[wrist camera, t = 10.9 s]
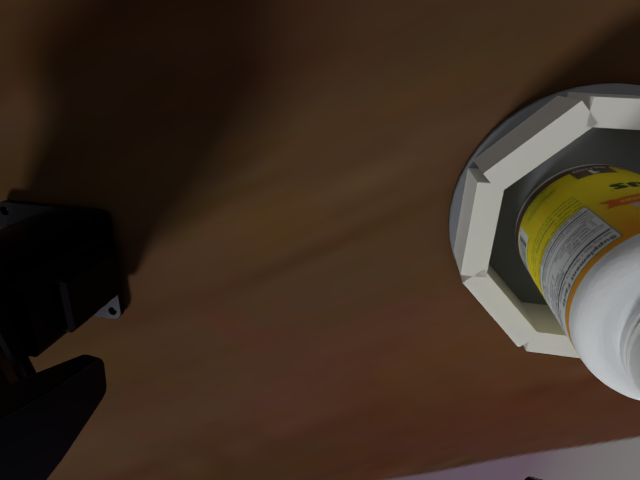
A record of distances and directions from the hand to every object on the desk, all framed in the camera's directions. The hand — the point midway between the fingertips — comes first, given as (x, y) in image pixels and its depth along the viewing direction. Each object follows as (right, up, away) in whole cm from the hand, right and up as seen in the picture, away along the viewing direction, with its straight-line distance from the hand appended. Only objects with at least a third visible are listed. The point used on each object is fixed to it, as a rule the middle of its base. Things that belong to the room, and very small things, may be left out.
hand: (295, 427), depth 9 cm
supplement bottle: (+12, +5, +10) cm, 16 cm away
